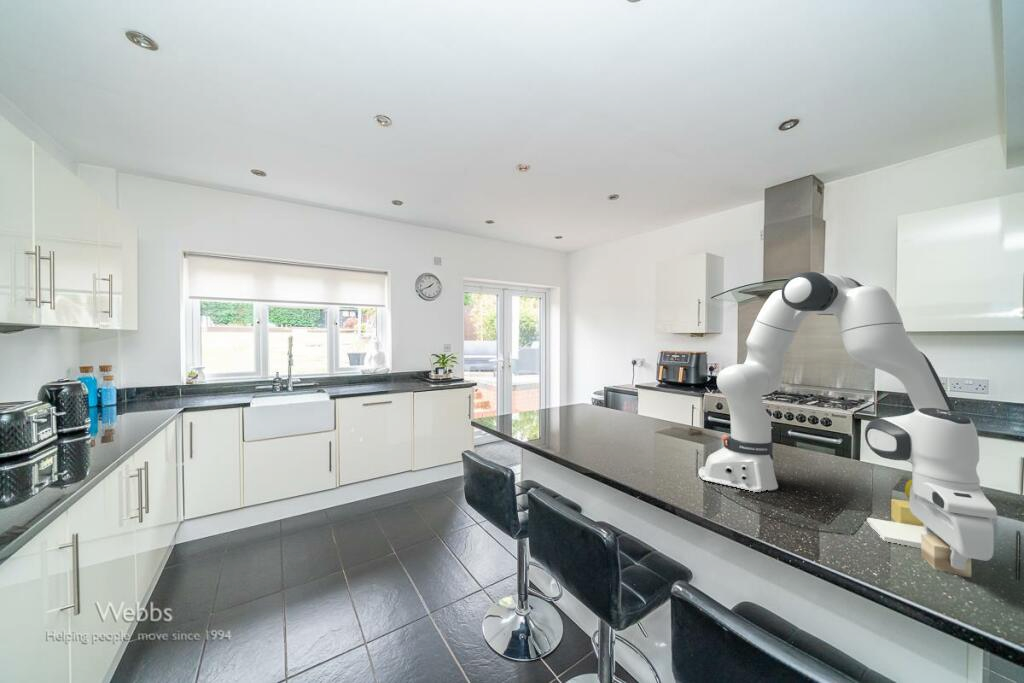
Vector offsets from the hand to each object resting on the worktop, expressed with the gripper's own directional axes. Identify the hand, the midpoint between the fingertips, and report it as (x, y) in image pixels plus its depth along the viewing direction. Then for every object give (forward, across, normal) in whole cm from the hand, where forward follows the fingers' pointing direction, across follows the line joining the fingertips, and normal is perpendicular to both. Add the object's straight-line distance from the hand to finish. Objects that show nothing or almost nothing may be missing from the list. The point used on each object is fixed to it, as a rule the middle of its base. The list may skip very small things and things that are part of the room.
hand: (945, 557), depth 73 cm
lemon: (+2, -34, +9) cm, 35 cm away
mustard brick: (+2, -20, +2) cm, 20 cm away
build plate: (+2, -12, -2) cm, 12 cm away
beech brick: (+2, 0, 0) cm, 2 cm away
